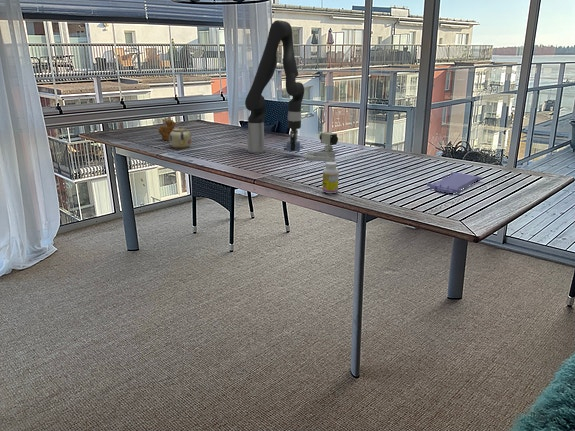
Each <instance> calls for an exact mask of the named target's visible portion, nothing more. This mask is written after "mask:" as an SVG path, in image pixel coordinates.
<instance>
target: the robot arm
mask: <svg viewBox="0 0 575 431" xmlns="http://www.w3.org/2000/svg"><path fill="white" fill-rule="evenodd" d="M293 39H294V38H293V28H292V26H291V24H290V23H289V22H288V21H286V20H285V21H284V20H279V19H278V20H275V21H273V22H272V23H271V25H270V27H269V31H268V36H267V40H266V42H265V43H266V44H265V46H264V49H263V52H262V55H261V58H260V61H259V64H258V66H257V69H256V72H255V75H254V78H253V81H252V84H251V87H250V89H249V90H248V93H247V95H246V98H245V100H244V104H245V108H246V109H247V111H249V112H250V114H249V116H248V118H247V129H248V135H247V152H248V153H253V154H254V153H257V154H258V153H264V152H265V117H266V100H265V97H264V96H263V95H262V94H263V91H264V89H265V87H266V86H267V85H268V83H270V81H271V79H273V76H274V74H275V72H276V68H277V64H278V55H277V54H278V53H277V52H278V48H279V45H280V43H281V45H282V49H283V55H282V56H283V57H282V66H283V70H284V74H285V90H286V93H287V94H288V95H289V96H290V97H292V99H290V100H289V102H288V108H287V109H288V110H287V125H286V127H287V129H290V132H289V137H290V138H289V139H290V140H289V141H290V144H291V151H295V141H298V134H299V132H298V130H299V129H301V128H302V102H303V99H304V95H305V86H304V84H303V83H302V82H300V81H296V80H297V79H296V78H298V76H299V71H298V70H299V69H298V66H297V62H296V56H295V50H294V49H295V48H294V40H293ZM292 141H294V142H292ZM291 151H290V152H291Z"/></svg>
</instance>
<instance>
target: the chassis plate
mask: <svg viewBox="0 0 575 431" xmlns="http://www.w3.org/2000/svg"><path fill="white" fill-rule="evenodd" d="M335 160H336V151H332V152H326V151H313V150H311V151H310V150H309V151H308V150H307V152H306V155H305V156H304V161H307V162H308V161H309V162H310V161H312V162H313V161H314V162H335Z"/></svg>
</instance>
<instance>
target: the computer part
mask: <svg viewBox="0 0 575 431" xmlns="http://www.w3.org/2000/svg"><path fill="white" fill-rule="evenodd" d="M477 180H478V181H483V177H482V176H478V175H473V174H468V173H467V174H466V173H462V172H461V173H460V172H454V171H453V172H452V171H451V172H450V175H448V173H447V174H445V175H443V176H442V177H441V180H437V181H436V182H433V183H432V182H427V183H426V187H429V190H430V189H434V190H436V191H435V192H439V191H441V192H440V193H444V192H446V193H445V194H449V193H456V192H458V193H461V192H462V190H461V189H463V188H465V187H467V186H469V185H470V184H472V183H474V182H476V181H477ZM476 183H477V182H476ZM474 184H475V183H474ZM472 185H473V184H472ZM470 186H471V185H470ZM470 186H469V187H470ZM467 188H468V187H467ZM465 189H466V188H465ZM463 190H464V189H463ZM456 194H457V193H456Z"/></svg>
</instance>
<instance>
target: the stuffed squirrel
mask: <svg viewBox="0 0 575 431" xmlns="http://www.w3.org/2000/svg"><path fill="white" fill-rule="evenodd" d="M164 123H165V124H166V125H163V126H160V127H159V128H158V129H157V130H158V133H159V134H160V135H161V138H162V140H164V141H165V142H170V140H169V136H170V133H171V132H172V131H173V129H175V127H176V126H177V123H176V122H175V121H174V120H172V119H169V120H164Z"/></svg>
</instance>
